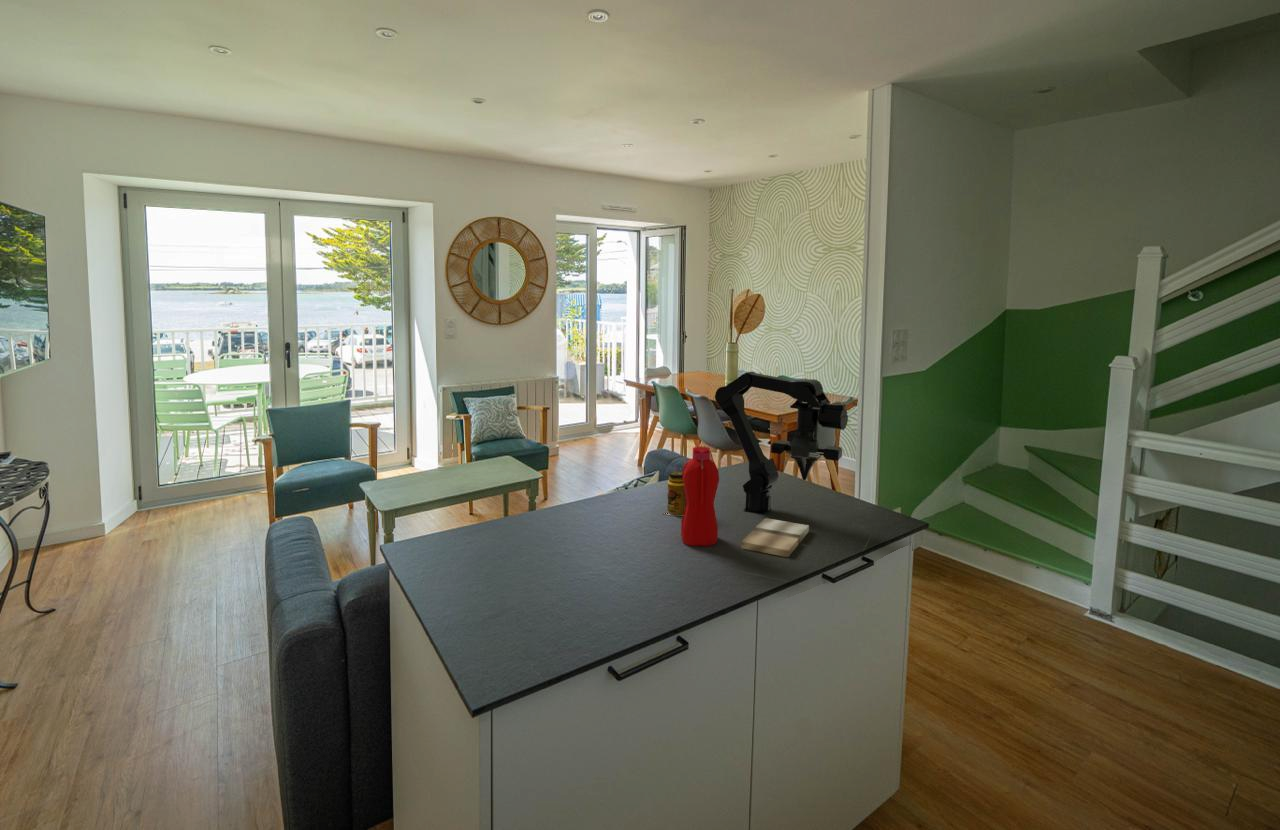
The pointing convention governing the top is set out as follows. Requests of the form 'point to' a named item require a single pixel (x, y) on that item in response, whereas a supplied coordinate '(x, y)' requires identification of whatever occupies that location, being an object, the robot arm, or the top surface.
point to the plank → (783, 528)
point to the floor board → (770, 543)
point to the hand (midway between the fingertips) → (804, 479)
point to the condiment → (676, 494)
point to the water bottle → (700, 499)
